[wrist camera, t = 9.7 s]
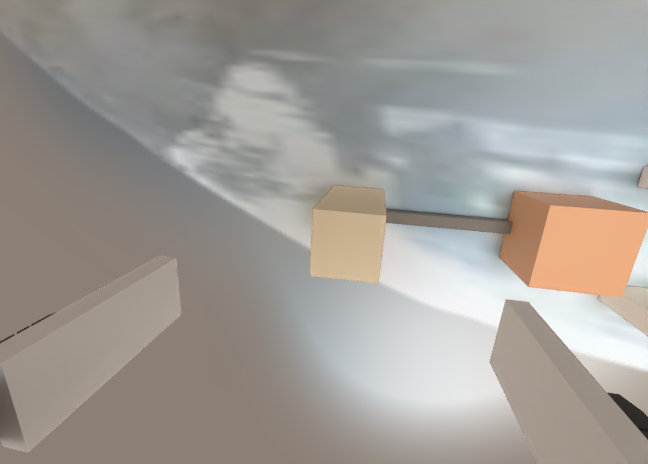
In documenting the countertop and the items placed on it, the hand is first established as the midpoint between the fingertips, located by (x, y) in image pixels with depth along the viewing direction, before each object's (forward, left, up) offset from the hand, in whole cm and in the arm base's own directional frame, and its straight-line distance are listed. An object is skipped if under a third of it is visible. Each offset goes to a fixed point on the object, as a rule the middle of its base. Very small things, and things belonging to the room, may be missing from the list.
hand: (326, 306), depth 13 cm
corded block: (0, +8, -18) cm, 20 cm away
